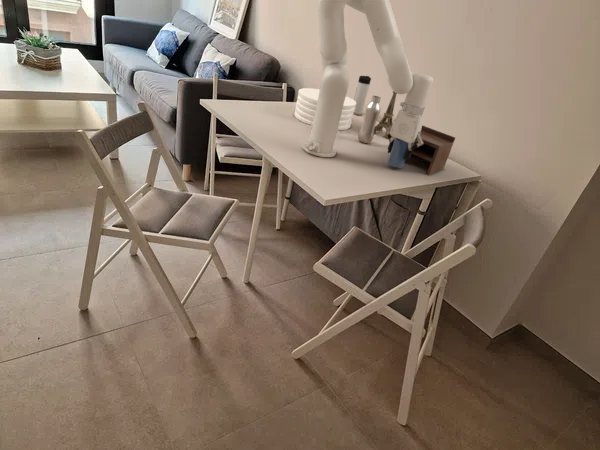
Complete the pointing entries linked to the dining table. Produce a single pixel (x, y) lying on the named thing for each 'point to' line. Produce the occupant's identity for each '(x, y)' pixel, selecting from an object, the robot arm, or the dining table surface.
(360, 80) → the travel mug
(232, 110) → the dining table surface
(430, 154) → the shelf stand
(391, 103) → the eiffel tower
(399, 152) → the jug
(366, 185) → the dining table surface
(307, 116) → the plate stack
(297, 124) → the dining table surface
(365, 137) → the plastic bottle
